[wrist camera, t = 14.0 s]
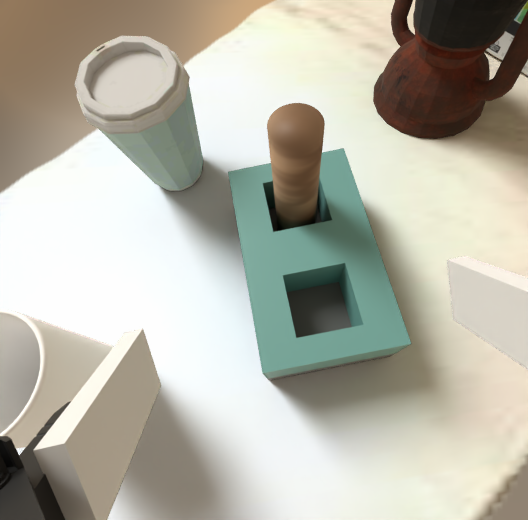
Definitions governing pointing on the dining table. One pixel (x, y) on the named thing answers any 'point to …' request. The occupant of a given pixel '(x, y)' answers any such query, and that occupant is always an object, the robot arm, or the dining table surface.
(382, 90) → the lantern
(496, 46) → the tea box
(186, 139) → the disposable coffee cup
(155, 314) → the dining table surface
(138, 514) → the dining table surface
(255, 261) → the socket block
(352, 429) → the dining table surface
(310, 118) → the walnut pin
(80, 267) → the dining table surface
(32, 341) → the cup
